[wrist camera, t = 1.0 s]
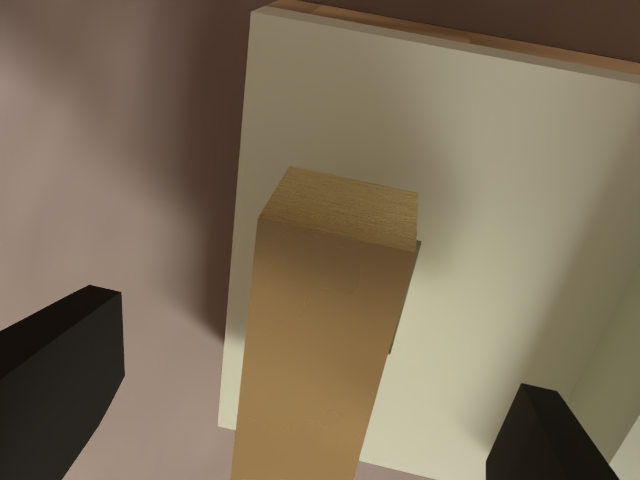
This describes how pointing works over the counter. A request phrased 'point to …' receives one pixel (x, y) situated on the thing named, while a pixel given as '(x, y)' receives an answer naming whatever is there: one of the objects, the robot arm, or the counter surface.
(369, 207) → the tan t-shaped block
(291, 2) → the base
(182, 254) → the counter surface
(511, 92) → the cover
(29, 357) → the robot arm
